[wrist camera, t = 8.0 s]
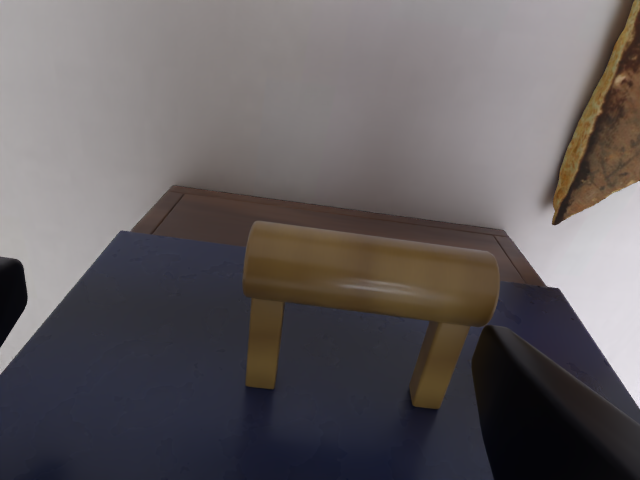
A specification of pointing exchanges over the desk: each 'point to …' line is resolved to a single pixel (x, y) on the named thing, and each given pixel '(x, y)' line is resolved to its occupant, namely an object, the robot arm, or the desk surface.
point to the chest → (317, 225)
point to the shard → (605, 132)
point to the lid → (275, 361)
